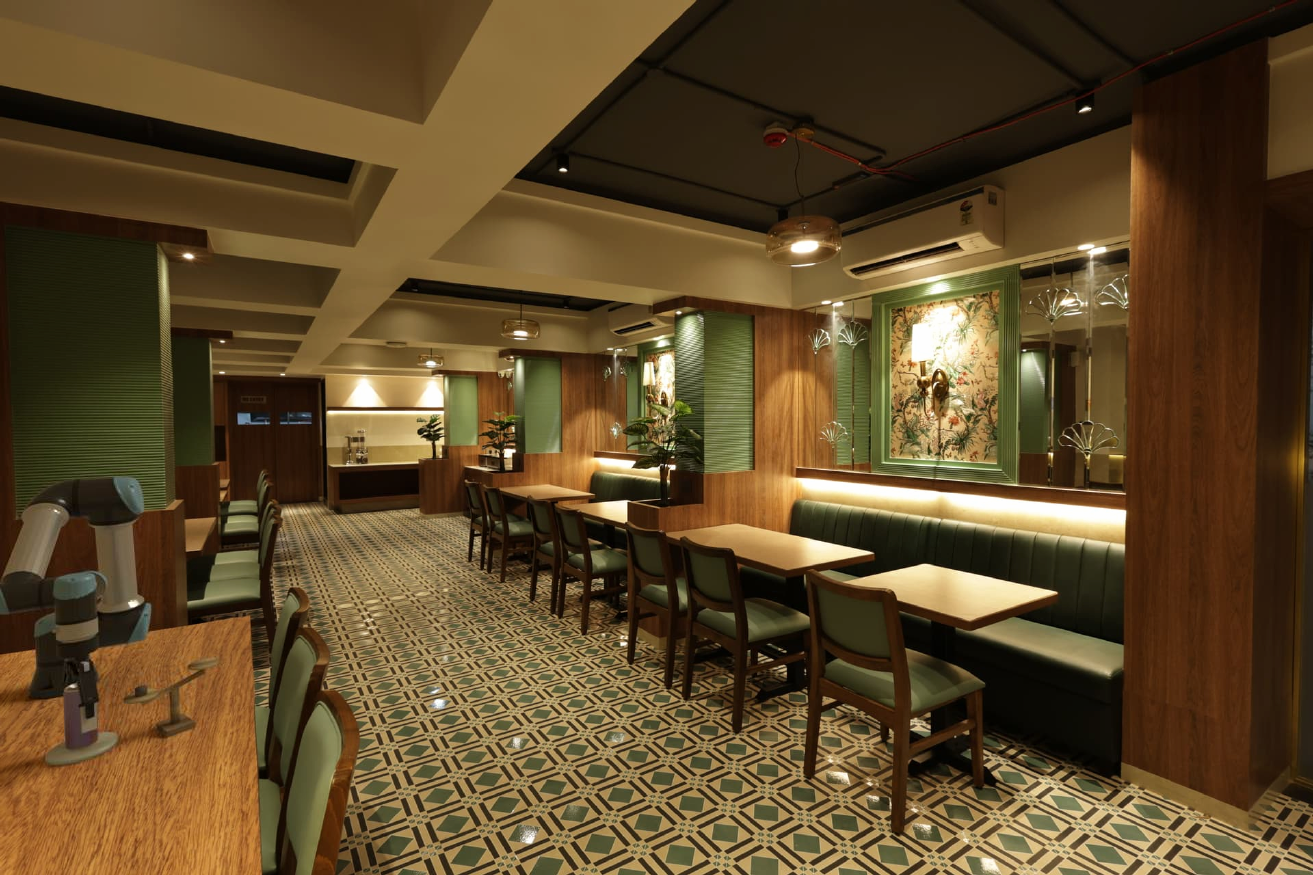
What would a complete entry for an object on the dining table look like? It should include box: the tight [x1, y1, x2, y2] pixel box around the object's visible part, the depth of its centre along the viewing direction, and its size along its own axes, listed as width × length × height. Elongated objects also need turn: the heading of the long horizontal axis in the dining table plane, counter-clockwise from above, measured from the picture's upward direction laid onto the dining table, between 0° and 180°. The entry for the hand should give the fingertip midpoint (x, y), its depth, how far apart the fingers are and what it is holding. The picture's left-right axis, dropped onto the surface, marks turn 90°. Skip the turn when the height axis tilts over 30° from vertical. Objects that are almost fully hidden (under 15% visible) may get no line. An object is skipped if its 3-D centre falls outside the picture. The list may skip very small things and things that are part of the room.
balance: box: [122, 657, 221, 738], centre depth 160 cm, size 8×21×15 cm, turn 145°
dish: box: [44, 731, 119, 767], centre depth 150 cm, size 13×13×1 cm
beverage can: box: [62, 683, 99, 751], centre depth 150 cm, size 6×6×15 cm
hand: (81, 722), depth 150 cm, fingers open, 13 cm apart
